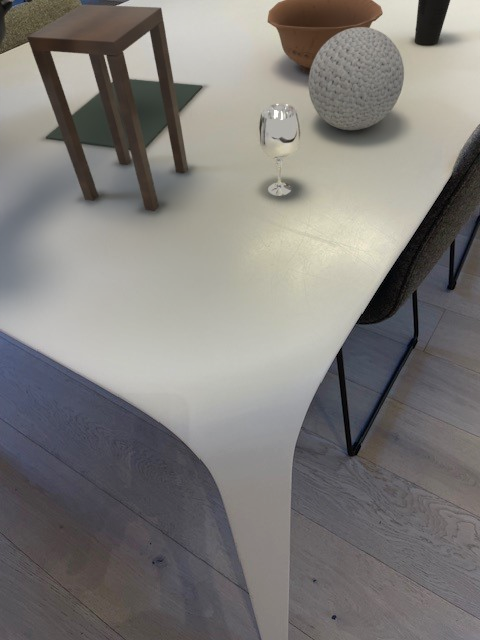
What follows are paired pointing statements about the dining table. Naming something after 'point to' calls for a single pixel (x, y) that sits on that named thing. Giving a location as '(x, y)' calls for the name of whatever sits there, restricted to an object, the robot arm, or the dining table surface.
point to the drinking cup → (430, 21)
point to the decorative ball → (356, 78)
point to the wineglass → (279, 138)
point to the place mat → (95, 123)
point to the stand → (110, 39)
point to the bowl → (317, 24)
